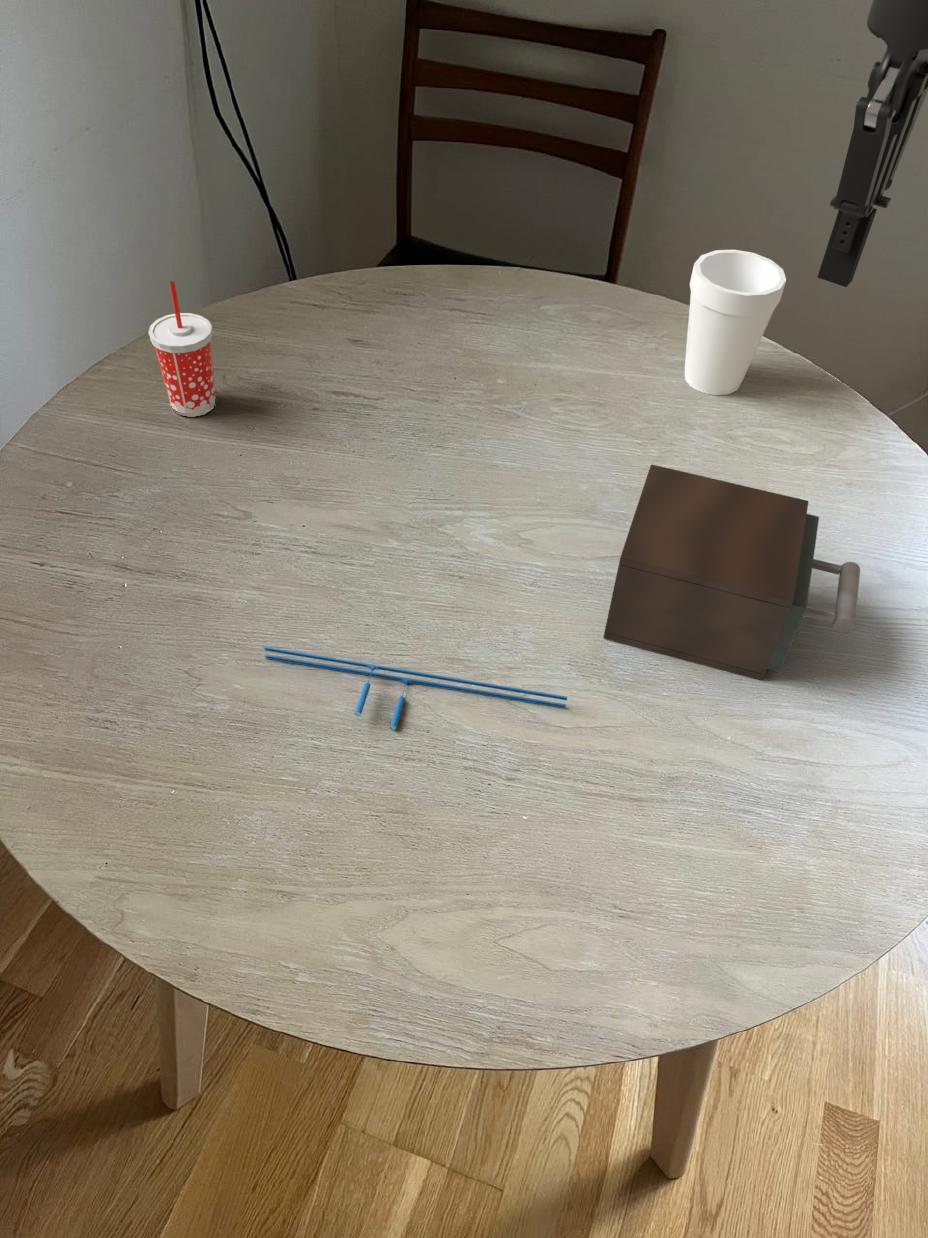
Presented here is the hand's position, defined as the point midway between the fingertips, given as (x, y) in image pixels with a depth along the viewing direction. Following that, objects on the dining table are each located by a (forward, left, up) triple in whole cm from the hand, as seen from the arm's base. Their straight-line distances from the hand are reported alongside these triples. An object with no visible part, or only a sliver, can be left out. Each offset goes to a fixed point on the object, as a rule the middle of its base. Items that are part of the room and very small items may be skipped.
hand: (834, 278), depth 92 cm
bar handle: (+24, +43, -21) cm, 53 cm away
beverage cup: (+59, +13, -21) cm, 64 cm away
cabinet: (+4, +24, -21) cm, 32 cm away
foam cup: (+8, -13, -21) cm, 26 cm away
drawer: (0, +24, -20) cm, 31 cm away
